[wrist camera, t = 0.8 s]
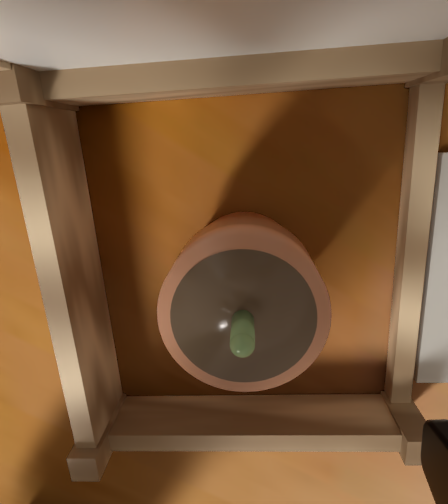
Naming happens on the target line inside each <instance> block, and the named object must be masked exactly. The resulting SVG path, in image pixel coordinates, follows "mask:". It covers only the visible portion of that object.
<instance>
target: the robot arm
mask: <svg viewBox="0 0 448 504" xmlns="http://www.w3.org/2000/svg"><path fill="white" fill-rule="evenodd" d="M420 457H421V464H422V468H423V471H424V474H425V476H426V479H427V482H428V484H429V487H430V490H431V492H432V495H433V497H434V500H435V503H436V504H448V420H446V419H442V420H427V421H425V423H424V425H423V432H422V443H421V456H420Z"/></svg>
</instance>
